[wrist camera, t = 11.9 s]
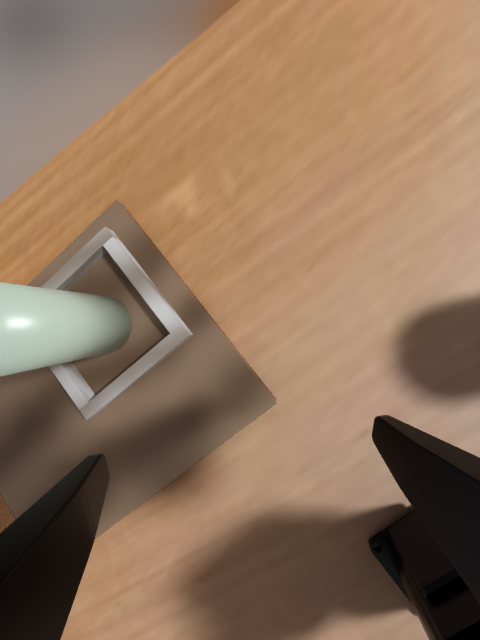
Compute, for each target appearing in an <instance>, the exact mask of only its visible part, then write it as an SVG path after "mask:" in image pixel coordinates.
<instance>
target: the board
mask: <svg viewBox="0 0 480 640" xmlns="http://www.w3.org/2000/svg"><path fill="white" fill-rule="evenodd" d="M27 286H33V287H40V288H48V289H56V290H64V291H72V292H80V293H87V294H95V295H103V296H110V297H114V298H116V299H118V300H120V301H121V302H122V303H123V304H124V305H125V306H126V308H127V309H128V311H129V313H130V316H131V321H132V329H131V334H130V337H129V339H128V341H127V342H126V344H125V345H124V346H123V347H122V348H120V349H119V350H117V351H115V352H112V353H108V354H103V355H98V356H94V357H89V358H84V359H80V360H75V361H71V362H66V363H61V364H57V365H52V366H47V367H43V368H38V369H33V370H29V371H24V372H19V373H15V374H10V375H5V376H1V377H0V495H1V496H2V498H3V500H4V501H5V503H6V504H7V506H8V507H9V509H10V510H11V512H12V514H13V515H14V517H15V518H16V519H17V518H18V517H19V516H20V515H21V514H23V513H24V512H25V511H26V510H27V509H28V508H29V507H30V506H32V505H33V504H34V503H35V502H36V501H37V500H38V499H39V498H41V497H42V496H43V495H44V494H45V493H46V492H47V491H48V490H50V489H51V488H52V487H53V486H54V485H55V484H56V483H58V482H59V481H60V480H61V479H62V478H63V477H64V476H65V475H67V474H68V473H69V472H70V471H71V470H72V469H73V468H74V467H76V466H77V465H78V464H79V463H80V462H81V461H82V460H83V459H85V458H86V457H87V456H89V455H91V454H99V453H103V454H104V455H105V457H106V461H107V465H108V469H109V473H110V479H109V484H108V488H107V492H106V496H105V500H104V504H103V508H102V512H101V516H100V520H99V525H98V529H97V532H96V536H95V539H96V538H97V537H98V536H100V535H101V534H102V533H104V532H105V531H106V530H108V529H109V528H110V527H112V526H113V525H114V524H116V523H117V522H118V521H120V520H121V519H122V518H124V517H125V516H126V515H128V514H129V513H130V512H132V511H133V510H134V509H136V508H137V507H138V506H140V505H141V504H142V503H144V502H145V501H146V500H148V499H149V498H150V497H152V496H153V495H154V494H156V493H157V492H159V491H160V490H161V489H163V488H164V487H165V486H167V485H168V484H169V483H171V482H172V481H173V480H175V479H176V478H177V477H179V476H180V475H181V474H183V473H184V472H185V471H187V470H188V469H189V468H191V467H192V466H193V465H195V464H196V463H197V462H199V461H200V460H201V459H203V458H204V457H205V456H207V455H208V454H209V453H211V452H212V451H213V450H215V449H216V448H217V447H219V446H220V445H221V444H223V443H224V442H226V441H227V440H228V439H230V438H231V437H232V436H234V435H235V434H236V433H238V432H239V431H240V430H242V429H243V428H244V427H246V426H247V425H248V424H250V423H251V422H252V421H254V420H255V419H256V418H258V417H259V416H260V415H262V414H263V413H264V412H266V411H267V410H268V409H270V408H271V407H272V406H274V405H275V404H276V398H275V397H274V396H273V395H272V393H271V392H270V391H269V390H268V388H267V387H266V386H265V384H264V383H263V382H262V381H261V379H260V378H259V377H258V376H257V374H256V373H255V372H254V370H253V369H252V368H251V367H250V365H249V364H248V363H247V362H246V360H245V359H244V358H243V356H242V355H241V354H240V353H239V351H238V350H237V349H236V348H235V346H234V345H233V344H232V342H231V341H230V340H229V339H228V337H227V336H226V335H225V334H224V332H223V331H222V330H221V328H220V327H219V326H218V325H217V323H216V322H215V321H214V320H213V318H212V317H211V316H210V314H209V313H208V312H207V311H206V309H205V308H204V307H203V306H202V304H201V303H200V302H199V300H198V299H197V298H196V297H195V295H194V294H193V293H192V292H191V290H190V289H189V288H188V286H187V285H186V284H185V283H184V281H183V280H182V279H181V278H180V276H179V275H178V274H177V272H176V271H175V270H174V269H173V267H172V266H171V265H170V264H169V262H168V261H167V260H166V258H165V257H164V256H163V255H162V253H161V252H160V251H159V250H158V248H157V247H156V246H155V245H154V243H153V242H152V241H151V239H150V238H149V237H148V236H147V234H146V233H145V232H144V231H143V229H142V228H141V227H140V225H139V224H138V223H137V222H136V220H135V219H134V218H133V217H132V215H131V214H130V213H129V211H128V210H127V209H126V208H125V206H124V205H122V204H121V203H120V202H118V201H117V200H116V201H115V202H114V203H113V204H111V205H110V206H109V207H108V208H107V209H106V210H105V211H104V212H103V213H102V214H101V215H100V216H99V217H98V218H97V219H96V220H95V221H94V222H93V223H92V224H91V225H90V226H89V227H87V228H86V229H85V230H84V231H83V232H82V233H81V234H80V235H79V236H78V237H77V238H76V239H75V240H74V241H73V242H72V243H71V244H70V245H69V246H68V247H67V248H66V249H65V250H63V251H62V252H61V253H60V254H59V255H58V256H57V257H56V258H55V259H54V260H53V261H52V262H51V263H50V264H49V265H48V266H47V267H46V268H45V269H44V270H43V271H42V272H41V273H39V274H38V275H37V276H36V277H35V278H34V279H33V280H32V281H31V282H30V283H29V284H28V285H27Z"/></svg>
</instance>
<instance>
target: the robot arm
mask: <svg viewBox="0 0 480 640" xmlns="http://www.w3.org/2000/svg"><path fill="white" fill-rule="evenodd" d="M372 439H373V442H374V444H375V446H376V447H377V449H378V451H379V453H380V454H381V456H382V458H383V460H384V461H385V463H386V465H387V467H388V468H389V470H390V472H391V473H392V475H393V477H394V479H395V480H396V482H397V484H398V485H399V487H400V489H401V490H402V492H403V493H404V495H405V496H406V498H407V499H408V500H409V502H410V503H411V505H412V506H413V508H414V509H415V510H414V511H413V512H411V513H410V514H408V515H407V516H405V517H403V518H402V519H400V520H399V521H397V522H395V523H394V524H392V525H391V526H389V527H387V528H386V529H384V530H383V531H381V532H380V533H378V534H376V535H375V536H373V537H372V538H371V539H370V540H369V546H370V549H371V551H372V553H373V554H374V555H375V557H376V558H377V559H378V560H379V562H380V563H381V564H382V566H383V567H384V568H385V569H386V571H387V572H388V573H389V575H390V576H391V577H392V579H393V580H394V581H395V582H396V584H397V585H398V586H399V588H400V589H401V590H402V591H403V593H404V594H405V595H406V597H407V598H408V599H409V600H410V602H411V603H412V605H413V607H414V609H415V611H416V613H417V615H418V617H419V619H420V621H421V623H422V626H423V628H424V630H425V632H426V634H427V636H428V638H429V640H480V458H479V457H477V456H475V455H473V454H470V453H468V452H466V451H464V450H462V449H460V448H458V447H455V446H453V445H451V444H449V443H447V442H445V441H442V440H440V439H438V438H436V437H434V436H432V435H430V434H427V433H425V432H423V431H421V430H419V429H417V428H415V427H412V426H410V425H408V424H406V423H404V422H402V421H399V420H397V419H395V418H393V417H391V416H389V415H382V416H377V417H375V419H374V425H373V431H372ZM109 479H110V473H109V469H108V465H107V461H106V457H105V455H104V454H103V453H99V454H91V455H89V456H87V457H86V458H85V459H83V460H82V461H81V462H80V463H79V464H78V465H77V466H76V467H74V468H73V469H72V470H71V471H70V472H69V473H68V474H67V475H65V476H64V477H63V478H62V479H61V480H60V481H59V482H58V483H56V484H55V485H54V486H53V487H52V488H51V489H50V490H48V491H47V492H46V493H45V494H44V495H43V496H42V497H41V498H39V499H38V500H37V501H36V502H35V503H34V504H33V505H32V506H30V507H29V508H28V509H27V510H26V511H25V512H24V513H23V514H21V515H20V516H19V517H18V518H17V519H16V520H15V521H13V522H12V523H11V524H10V525H9V526H8V527H7V528H6V529H4V530H3V531H2V532H1V533H0V640H60V639H61V636H62V633H63V630H64V628H65V625H66V622H67V619H68V616H69V613H70V610H71V607H72V604H73V602H74V599H75V596H76V593H77V590H78V587H79V584H80V581H81V578H82V575H83V573H84V570H85V567H86V564H87V561H88V558H89V555H90V552H91V549H92V546H93V543H94V540H95V536H96V532H97V529H98V525H99V520H100V516H101V512H102V508H103V504H104V500H105V496H106V492H107V488H108V484H109ZM376 545H379V547H375V546H376Z"/></svg>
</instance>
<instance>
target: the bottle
mask: <svg viewBox="0 0 480 640" xmlns="http://www.w3.org/2000/svg"><path fill="white" fill-rule="evenodd" d="M131 329H132V321H131V316H130V313H129V311H128V309H127V308H126V306H125V305H124V304H123V303H122V302H121V301H120V300H118V299H116V298H114V297H110V296H103V295H95V294H87V293H80V292H72V291H64V290H56V289H48V288H40V287H33V286H25V285H17V284H9V283H1V282H0V377H1V376H5V375H10V374H15V373H19V372H24V371H29V370H33V369H38V368H43V367H47V366H52V365H57V364H61V363H66V362H71V361H75V360H80V359H84V358H89V357H94V356H98V355H103V354H108V353H112V352H115V351H117V350H119V349H120V348H122V347H123V346H124V345H125V344H126V342H127V341H128V339H129V337H130V334H131Z"/></svg>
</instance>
